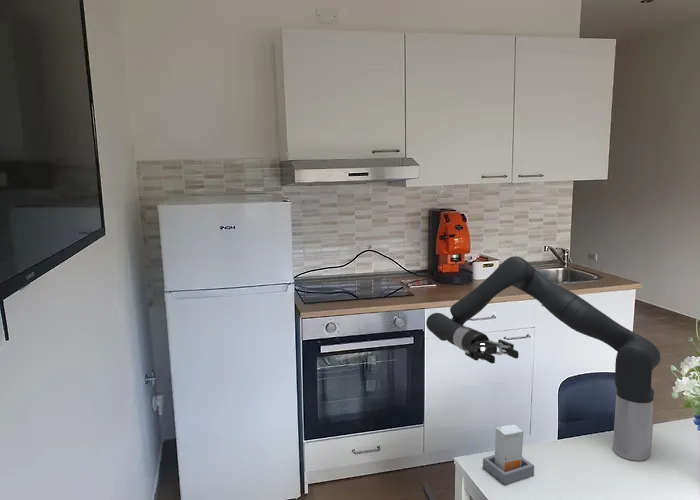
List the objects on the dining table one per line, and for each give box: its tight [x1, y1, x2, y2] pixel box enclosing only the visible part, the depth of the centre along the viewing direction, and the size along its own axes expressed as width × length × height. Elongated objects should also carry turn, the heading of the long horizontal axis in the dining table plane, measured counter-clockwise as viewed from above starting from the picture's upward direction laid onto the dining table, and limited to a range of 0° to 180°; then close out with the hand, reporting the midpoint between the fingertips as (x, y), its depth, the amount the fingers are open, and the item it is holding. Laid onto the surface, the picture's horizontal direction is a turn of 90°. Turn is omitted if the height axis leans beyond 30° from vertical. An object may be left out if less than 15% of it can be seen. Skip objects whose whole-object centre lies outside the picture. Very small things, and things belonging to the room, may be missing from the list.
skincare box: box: [494, 424, 524, 472], centre depth 142 cm, size 6×4×12 cm
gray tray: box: [482, 454, 535, 486], centre depth 143 cm, size 10×9×3 cm
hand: (506, 357), depth 150 cm, fingers open, 8 cm apart
